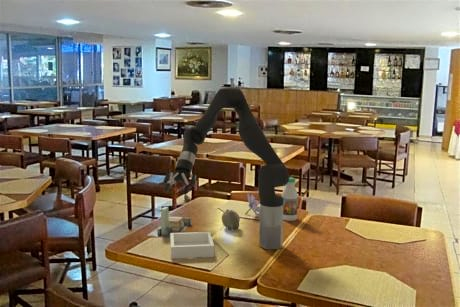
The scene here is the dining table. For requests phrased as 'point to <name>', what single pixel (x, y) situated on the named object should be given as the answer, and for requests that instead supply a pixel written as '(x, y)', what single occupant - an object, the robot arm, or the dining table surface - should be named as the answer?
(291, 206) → the milk bottle
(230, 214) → the grey rounded lump
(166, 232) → the rack
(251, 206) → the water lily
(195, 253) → the tray
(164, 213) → the pale green block
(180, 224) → the offcut bottom
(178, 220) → the offcut top
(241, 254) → the dining table surface
